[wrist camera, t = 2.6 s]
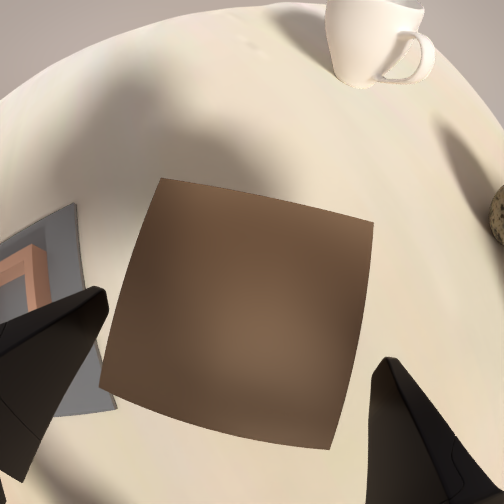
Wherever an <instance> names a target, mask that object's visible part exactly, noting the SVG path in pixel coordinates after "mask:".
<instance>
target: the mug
mask: <svg viewBox="0 0 504 504" xmlns="http://www.w3.org/2000/svg"><path fill="white" fill-rule="evenodd" d="M423 15H424V7H423V5H422V4H421V3H419V2H418V1H417V0H327V6H326V13H325V31H326V37H327V41H328V46H329V50H330V54H331V59H332V63H333V68H334V73H335V75H336V77H337V78H338V79H339V80H340V81H342V82H343V83H345V84H347V85H349V86H351V87H355V88H359V89H366V88H370V87H371V86H372V85H374V84H375V83H376V82H380V83H388V84H414V83H418V82H421V81H422V80H424V79H425V78H426V77H427V76H428V75H429V74H430V72H431V70H432V68H433V65H434V62H435V49H434V46H433V43H432V41H431V40H430V39H429V38H428V37H427V36H425V35H423V34H421V33H417V31H418V28H419V25H420V23H421V21H422V18H423ZM415 38H416V39H417V40H418V41H419V44H420V47H421V60H420V64H419V66H418V68H417V70H416V71H415V72H414V74H413V75H411V76H410V77H408V78H405V79H386V78H385V77H384V75H385V74H386V73H387V72H388V71H390V70H391V69H392V68H393V67H394V66H395V65H396V64H398V63H399V62H400V61H401V60H402V58H403V57H404V56H405V55H406V53H407V52H408V50H409V49H410V47H411V45H412V43H413V40H414V39H415Z"/></svg>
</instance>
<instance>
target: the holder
mask: <svg viewBox="0 0 504 504" xmlns="http://www.w3.org/2000/svg"><path fill="white" fill-rule="evenodd" d="M82 290H85V284H84V278H83V271H82V264H81V256H80V247H79V237H78V225H77V209H76V204H75V203H72V204H70V205H68V206H66V207H64V208H62V209H60V210H58V211H56V212H54V213H52V214H51V215H49V216H47V217H45V218H43V219H41V220H40V221H38V222H36V223H34V224H33V225H31V226H29V227H27V228H26V229H24V230H22V231H21V232H19V233H17V234H16V235H14V236H12V237H11V238H9V239H7V240H6V241H4V242H3V243H1V244H0V324H2V323H4V322H6V321H7V322H8V321H9V320H11V319H13V318H16V317H18V316H21V315H23V314H25V313H28V312H30V311H33V310H35V309H37V308H40V307H42V306H45V305H47V304H50V303H52V302H55V301H57V300H59V299H62V298H64V297H67V296H69V295H72V294H74V293H77V292H79V291H82ZM102 365H103V363H102V360H101V356H100V353H99V349H98V345H97V341H96V340H95V342H94V344H93V346H92V348H91V350H90V352H89V354H88V355H87V357H86V359H85V360H84V362H83V364H82V365H81V367H80V369H79V371H78V372H77V374H76V376H75V378H74V379H73V381H72V383H71V385H70V386H69V388H68V390H67V392H66V394H65V395H64V397H63V399H62V401H61V403H60V405H59V407H58V408H57V410H56V412H55V414H54V416H53V417H61V416H72V415H81V414H89V413H97V412H104V411H111V410H116V409H118V408H117V406H116V403H115V400H114V397H113V395H112V394H111V393H109V392H107V391H105V390H103V389H101V388H99V387H98V386H99V381H100V375H101V370H102Z"/></svg>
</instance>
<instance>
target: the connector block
mask: <svg viewBox="0 0 504 504" xmlns="http://www.w3.org/2000/svg"><path fill="white" fill-rule="evenodd" d="M373 226H374V223H373V222H370V221H366V220H362V219H358V218H355V217H351V216H347V215H343V214H339V213H335V212H331V211H327V210H323V209H319V208H314V207H310V206H306V205H301V204H297V203H293V202H288V201H284V200H279V199H274V198H270V197H265V196H260V195H255V194H250V193H245V192H240V191H235V190H230V189H224V188H219V187H213V186H208V185H202V184H196V183H190V182H184V181H178V180H172V179H165V178H161V179H160V182H159V184H158V186H157V189H156V191H155V194H154V196H153V198H152V201H151V204H150V206H149V209H148V211H147V214H146V216H145V219H144V222H143V224H142V227H141V230H140V233H139V235H138V238H137V241H136V244H135V247H134V250H133V253H132V256H131V259H130V262H129V265H128V268H127V271H126V275H125V278H124V281H123V284H122V288H121V291H120V295H119V298H118V302H117V305H116V309H115V313H114V317H113V321H112V325H111V329H110V333H109V337H108V341H107V346H106V350H105V355H104V360H103V365H102V370H101V375H100V381H99V386H98V387H99V388H101V389H103V390H105V391H107V392H109V393H111V394H113V395H116V396H118V397H120V398H122V399H125V400H127V401H129V402H132V403H134V404H136V405H139V406H141V407H144V408H146V409H149V410H152V411H154V412H157V413H160V414H162V415H165V416H168V417H171V418H174V419H177V420H180V421H183V422H186V423H189V424H193V425H196V426H199V427H203V428H206V429H210V430H214V431H218V432H222V433H226V434H230V435H234V436H238V437H243V438H248V439H253V440H258V441H263V442H269V443H275V444H281V445H288V446H295V447H304V448H313V449H324V450H330V447H331V444H332V441H333V438H334V435H335V432H336V428H337V425H338V422H339V418H340V415H341V412H342V408H343V404H344V401H345V397H346V393H347V389H348V385H349V381H350V377H351V373H352V369H353V364H354V360H355V355H356V350H357V345H358V340H359V335H360V330H361V324H362V319H363V313H364V306H365V300H366V293H367V286H368V278H369V269H370V260H371V250H372V239H373Z"/></svg>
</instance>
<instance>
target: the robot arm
mask: <svg viewBox="0 0 504 504" xmlns="http://www.w3.org/2000/svg"><path fill="white" fill-rule="evenodd" d="M108 313H109V305H108V300H107V294H106V291H105V290H104V289H103V288H100V287H97V286H92V287H90V288H87V289H85V290H82V291H79V292H77V293H74V294H72V295H69V296H67V297H64V298H62V299H59V300H57V301H55V302H52V303H50V304H47V305H45V306H42V307H40V308H37V309H35V310H33V311H30V312H28V313H25V314H23V315H21V316H18V317H16V318H13V319H11V320H9V321H8V322H7V321H6V322H4V323H2V324H0V470H1V471H3V472H4V473H6V474H8V475H9V476H11V477H12V478H14V479H16V480H18V481H19V482H21V483H23V481H24V479H25V477H26V474H27V472H28V470H29V467H30V465H31V463H32V460H33V458H34V456H35V454H36V451H37V449H38V447H39V445H40V443H41V440H42V438H43V436H44V434H45V432H46V430H47V428H48V426H49V424H50V422H51V420H52V418H53V416H54V414H55V412H56V410H57V408H58V407H59V405H60V403H61V401H62V399H63V397H64V395H65V394H66V392H67V390H68V388H69V386H70V385H71V383H72V381H73V379H74V378H75V376H76V374H77V372H78V371H79V369H80V367H81V365H82V364H83V362H84V360H85V359H86V357H87V355H88V354H89V352H90V350H91V348H92V346H93V344H94V342H95V340H96V338H97V336H98V334H99V332H100V330H101V328H102V326H103V324H104V322H105V320H106V318H107V316H108ZM5 503H6V498H5V494H4V491H3V487H2V483H1V479H0V504H5ZM365 504H504V491H502V490H501V489H499V488H498V487H497V486H496V485H495V484H494V483H493V482H492V481H491V480H490V478H489V477H488V476H487V475H486V474H485V472H484V471H483V470H482V469H481V468H480V466H479V465H478V464H477V463H476V462H475V460H474V459H473V458H472V457H471V455H470V454H469V453H468V452H467V450H466V449H465V447H464V446H463V445H462V443H461V442H460V441H459V439H458V438H457V436H455V434H454V432H453V431H452V430H451V428H450V427H449V425H448V424H447V423H446V421H445V420H444V419H443V417H442V416H441V415H440V413H439V412H438V410H437V409H436V408H435V406H434V405H433V404H432V402H431V401H430V400H429V399H428V397H427V396H426V395H425V393H424V392H423V391H422V389H421V388H420V387H419V386H418V384H417V383H416V382H415V380H414V379H413V378H412V377H411V375H410V374H409V373H408V371H407V370H406V369H405V368H404V366H403V365H402V364H401V363H400V361H399V360H398V359H397V358H393V357H385V358H383V359H382V361H381V362H380V364H379V365H378V367H377V368H376V369H375V371H374V372H373V375H372V378H371V393H370V406H369V418H368V473H367V491H366V503H365Z"/></svg>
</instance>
